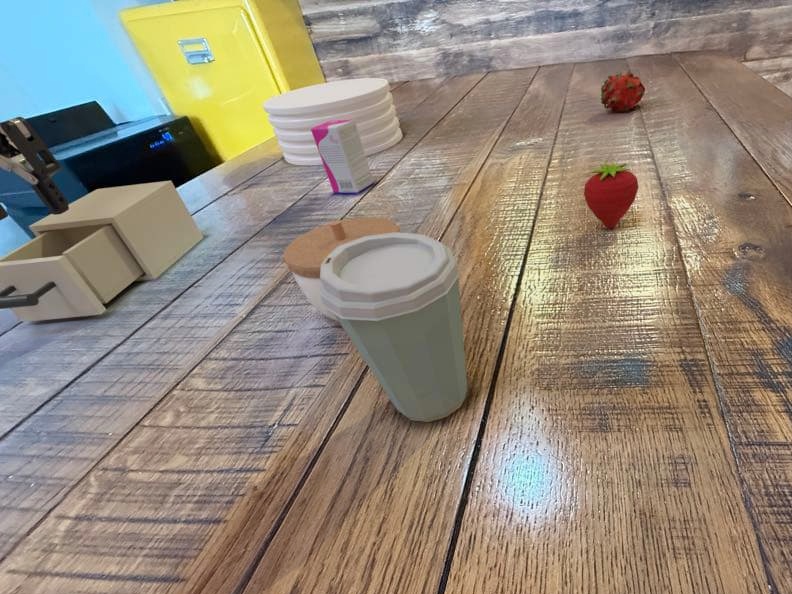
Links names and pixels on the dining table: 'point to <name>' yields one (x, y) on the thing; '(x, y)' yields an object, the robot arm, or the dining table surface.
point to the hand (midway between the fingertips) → (31, 215)
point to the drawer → (66, 273)
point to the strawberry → (611, 193)
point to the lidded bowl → (327, 251)
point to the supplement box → (343, 157)
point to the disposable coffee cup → (402, 318)
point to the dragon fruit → (622, 92)
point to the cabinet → (135, 222)
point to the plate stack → (333, 116)
